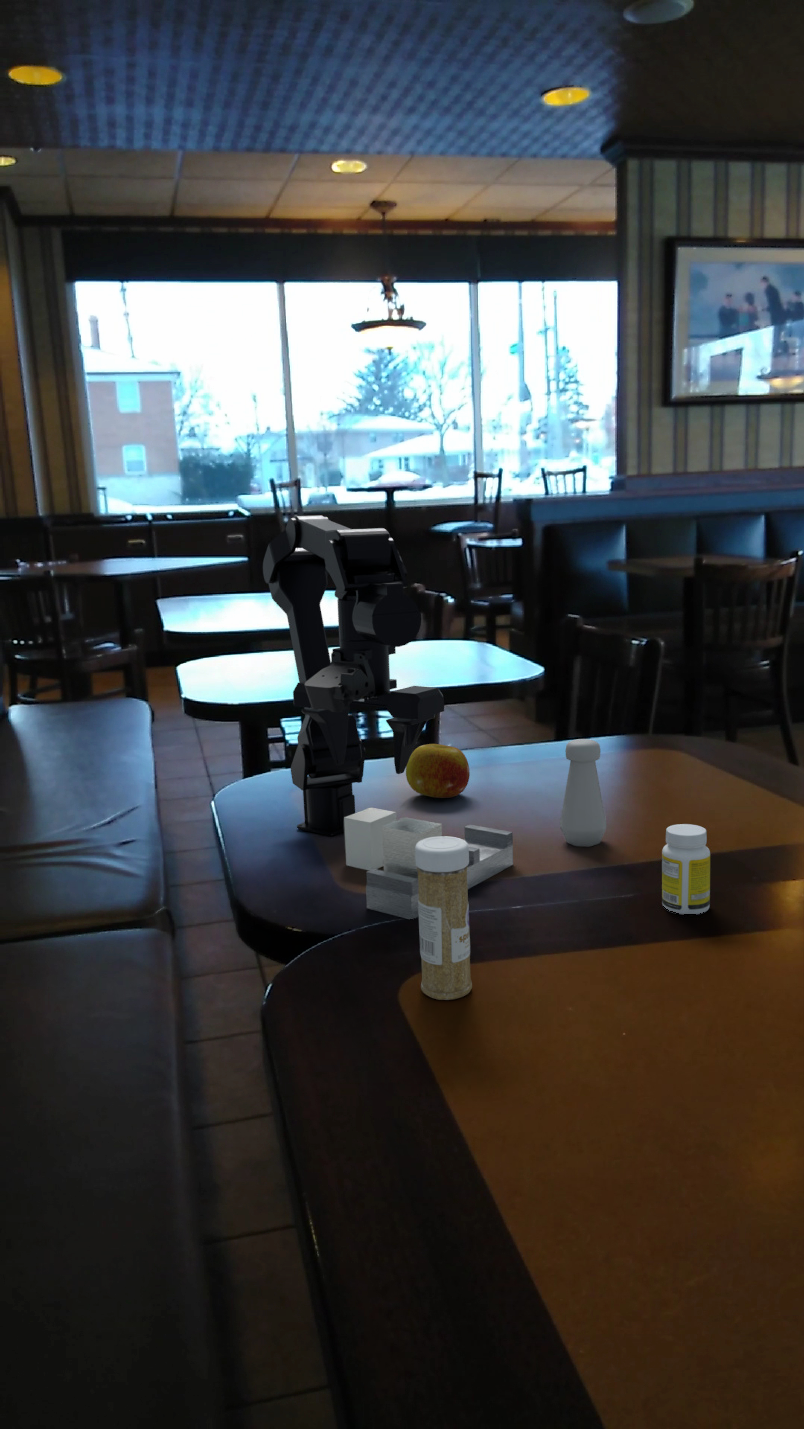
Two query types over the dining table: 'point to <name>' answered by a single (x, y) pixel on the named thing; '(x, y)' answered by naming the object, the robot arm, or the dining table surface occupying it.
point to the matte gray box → (366, 837)
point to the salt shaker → (583, 796)
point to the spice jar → (444, 916)
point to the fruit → (438, 771)
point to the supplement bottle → (686, 870)
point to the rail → (473, 878)
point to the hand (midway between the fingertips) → (369, 768)
